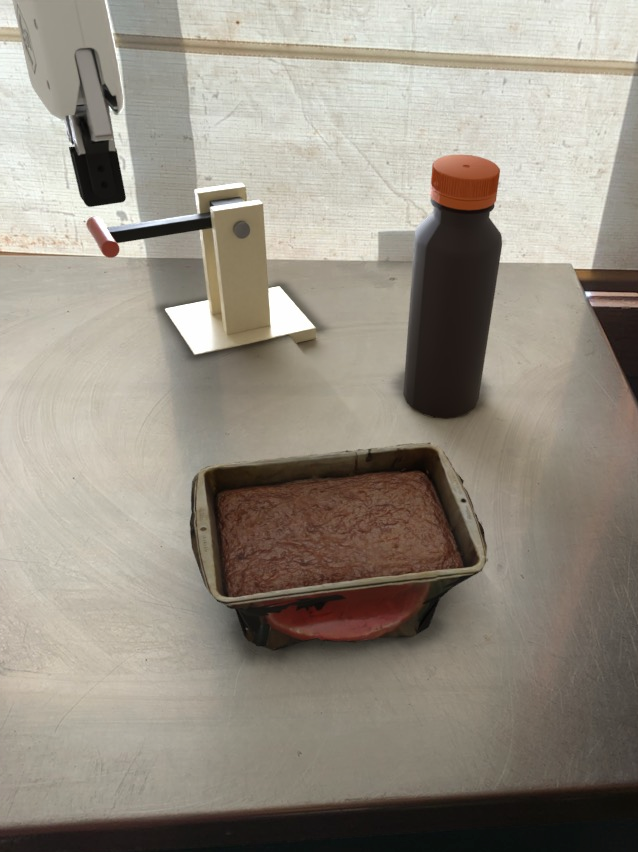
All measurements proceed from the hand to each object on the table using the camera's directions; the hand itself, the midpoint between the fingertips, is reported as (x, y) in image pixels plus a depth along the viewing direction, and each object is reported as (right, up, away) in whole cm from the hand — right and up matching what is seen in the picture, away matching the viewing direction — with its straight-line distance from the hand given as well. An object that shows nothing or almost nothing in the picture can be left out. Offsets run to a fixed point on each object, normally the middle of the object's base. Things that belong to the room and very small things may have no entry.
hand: (103, 200), depth 63 cm
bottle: (+27, -15, +8) cm, 32 cm away
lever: (+4, -1, +5) cm, 7 cm away
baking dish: (+19, -30, -8) cm, 37 cm away
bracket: (+8, -7, +14) cm, 17 cm away
